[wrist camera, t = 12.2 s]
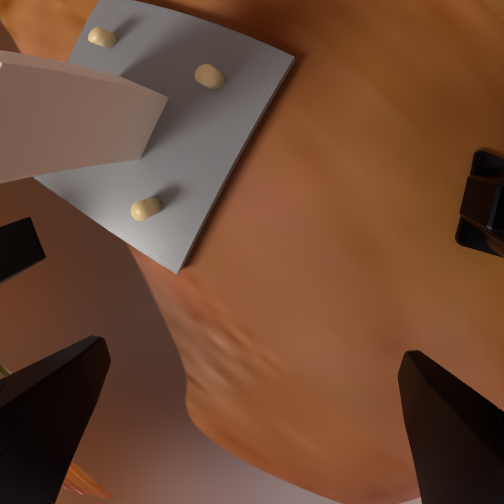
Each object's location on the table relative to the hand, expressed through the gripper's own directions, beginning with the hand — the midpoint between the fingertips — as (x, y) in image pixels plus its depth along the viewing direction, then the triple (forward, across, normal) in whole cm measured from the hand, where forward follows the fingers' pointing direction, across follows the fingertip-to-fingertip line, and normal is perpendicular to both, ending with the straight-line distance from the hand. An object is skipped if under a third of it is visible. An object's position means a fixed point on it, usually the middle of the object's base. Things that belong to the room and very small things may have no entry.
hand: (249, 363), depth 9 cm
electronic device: (+15, +25, +3) cm, 30 cm away
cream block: (+13, +9, -8) cm, 18 cm away
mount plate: (+14, +9, -8) cm, 19 cm away
